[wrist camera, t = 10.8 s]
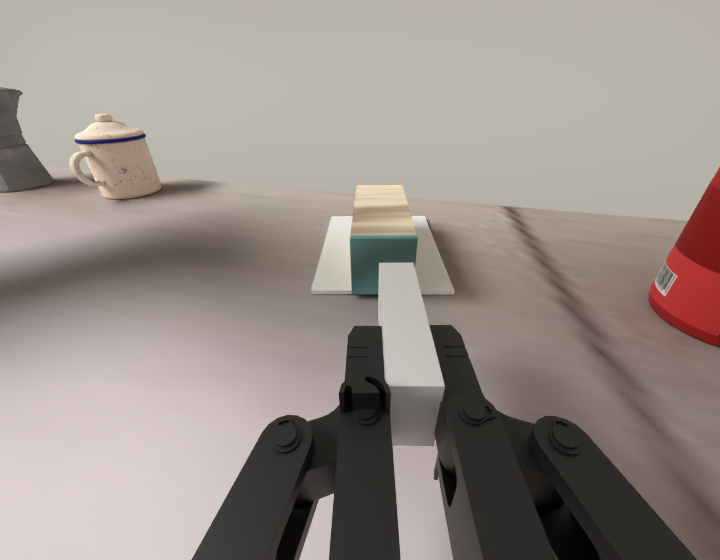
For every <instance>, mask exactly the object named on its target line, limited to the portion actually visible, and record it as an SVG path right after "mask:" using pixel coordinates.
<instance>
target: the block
mask: <svg viewBox="0 0 720 560" xmlns="http://www.w3.org/2000/svg"><path fill="white" fill-rule="evenodd" d="M417 243H418V237H417V234H416V231H415V227H414V224H413V221H412V217H411V214H410V211H409V207H408V204H407V200H406V197H405V194H404V190H403V187H402V185H357V189H356V196H355V203H354V211H353V218H352V226H351V233H350V261H351V288H352V294H378V290H379V263H414V267H415V264H416V254H417Z"/></svg>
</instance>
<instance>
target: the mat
mask: <svg viewBox="0 0 720 560" xmlns="http://www.w3.org/2000/svg"><path fill="white" fill-rule="evenodd" d="M411 217H412V221H413V224H414V227H415V231H416V234H417V237H418V243H417V254H416V264H415V271H416V275H417V279H418V283H419V286H420V290H421V294H422V295H454V288H453V286H452V283H451V281H450V278H449V276H448V273H447V271H446V268H445V266H444V263H443V261H442V258H441V256H440V253H439V251H438V248H437V246H436V243H435V241H434V238H433V236H432V233H431V231H430V228H429V226H428V223H427V221H426V218H425V216H411ZM352 218H353V216H342V217H331V221H330V224H329V228H328V231H327V235H326V238H325V242H324V246H323V249H322V253H321V256H320V260H319V263H318V267H317V270H316V274H315V277H314V281H313V284H312V288H311V294H352V288H351V261H350V233H351V226H352Z"/></svg>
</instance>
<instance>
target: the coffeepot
mask: <svg viewBox="0 0 720 560" xmlns="http://www.w3.org/2000/svg"><path fill="white" fill-rule="evenodd" d="M21 94H23V93H22V92H21V91H19V90H15V89H9V88H2V87H0V193H3V192H16V191H23V190H29V189H34V188H39V187H43V186H46V185H49V184H51V183H53V182H54V180H53V178H52V177H51V175H50V174H49V173H48V171H47V170H46V169H45V167H44V166H43V165H42V164H41V162H40V161H39V159H38V158H37V157H36V155H35V154H34V153H33V152H32V150H31V149H30V147H29V146H28V145H27V144H25V143H26V141H25V140H24V138H23V136H22V131H21V128H20V125H19V123H18V120H17V117H16V115H17V107H18V101H19V96H20V95H21Z"/></svg>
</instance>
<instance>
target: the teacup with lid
mask: <svg viewBox="0 0 720 560" xmlns="http://www.w3.org/2000/svg"><path fill="white" fill-rule="evenodd" d="M95 118H96V120H97V121H98V122H96V123H93V124H91V125H89V126H88V127H87V129H85V130H84V131H82V132H80V133H78V134H76V135H75V142H76V143H78V144H79V146H80V149H81V152H77V153H75V154H73V155H72V156H71V158H70V161H69V164H70V168H71V170H72V172H73V174H74V175H75V176H76V177H77V178H78V179H79V180H80V181H81V182H83V183H84V184H86V185H89V186H98V188H99V190H100V192H101V194H102V196H103V197H105V198H108V199H129V198H136V197H141V196H146V195H149V194H152V193H155V192H157V191H159V190H160V189H161V187H162V186H161V182H160V180H159V177H158V174H157V171H156V168H155V166H154V163H153V160H152V157H151V154H150V151H149V148H148V146H147V143H146V140H145V137H146V135H145V134H144V132H143V131H142V130H140V129H136V128H132V127H129V126H127V125H125V124H123V123H121V122H117V121H112V117H111V115H110V114H97V115H95ZM83 157H85V159H86V162H87V164H88V166H89V168H90V170H91V172H92V175H93V177H94V179H95V182H93V181H91V180H89V179H88V178H87V177H86V176H85V175H84V174H83V173H82V171H81V170H80V167H79V162H80V160H81V159H82V158H83Z"/></svg>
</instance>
